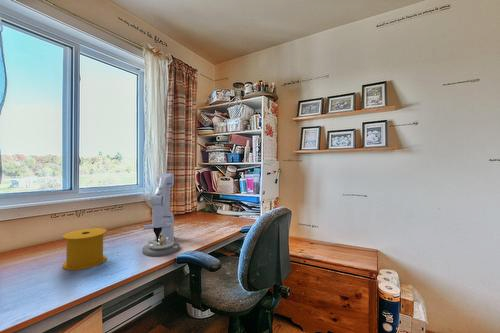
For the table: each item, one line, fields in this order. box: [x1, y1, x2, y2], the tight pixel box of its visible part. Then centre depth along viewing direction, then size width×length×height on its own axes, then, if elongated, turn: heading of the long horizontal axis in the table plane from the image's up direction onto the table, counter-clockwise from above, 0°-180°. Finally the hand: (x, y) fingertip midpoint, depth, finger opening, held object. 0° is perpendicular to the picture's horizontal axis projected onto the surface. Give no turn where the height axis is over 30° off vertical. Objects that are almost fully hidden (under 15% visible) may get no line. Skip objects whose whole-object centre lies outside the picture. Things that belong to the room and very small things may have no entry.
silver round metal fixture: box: [147, 235, 175, 250], centre depth 134 cm, size 14×14×8 cm
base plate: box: [141, 241, 180, 258], centre depth 134 cm, size 20×20×2 cm
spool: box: [61, 227, 108, 271], centre depth 116 cm, size 18×18×15 cm
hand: (157, 241), depth 128 cm, fingers closed
